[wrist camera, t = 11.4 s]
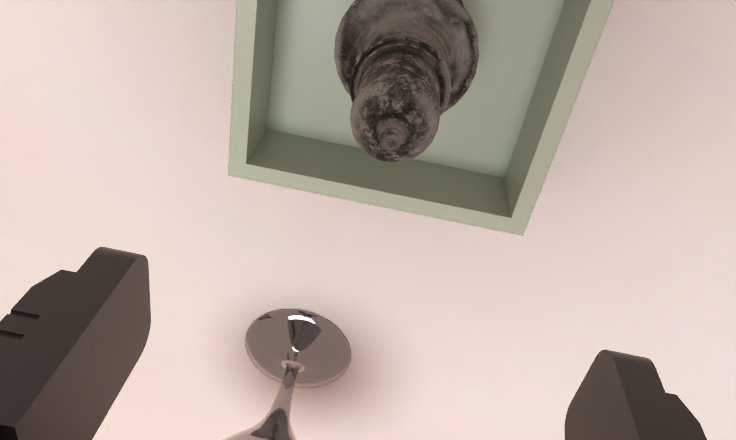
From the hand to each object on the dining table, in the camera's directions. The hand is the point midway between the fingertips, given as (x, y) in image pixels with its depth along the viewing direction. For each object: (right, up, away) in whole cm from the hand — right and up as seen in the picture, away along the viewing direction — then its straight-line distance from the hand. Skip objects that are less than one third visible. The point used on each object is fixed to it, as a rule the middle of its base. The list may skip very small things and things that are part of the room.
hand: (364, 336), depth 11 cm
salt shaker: (+2, +11, +17) cm, 20 cm away
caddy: (+2, +11, +17) cm, 20 cm away
